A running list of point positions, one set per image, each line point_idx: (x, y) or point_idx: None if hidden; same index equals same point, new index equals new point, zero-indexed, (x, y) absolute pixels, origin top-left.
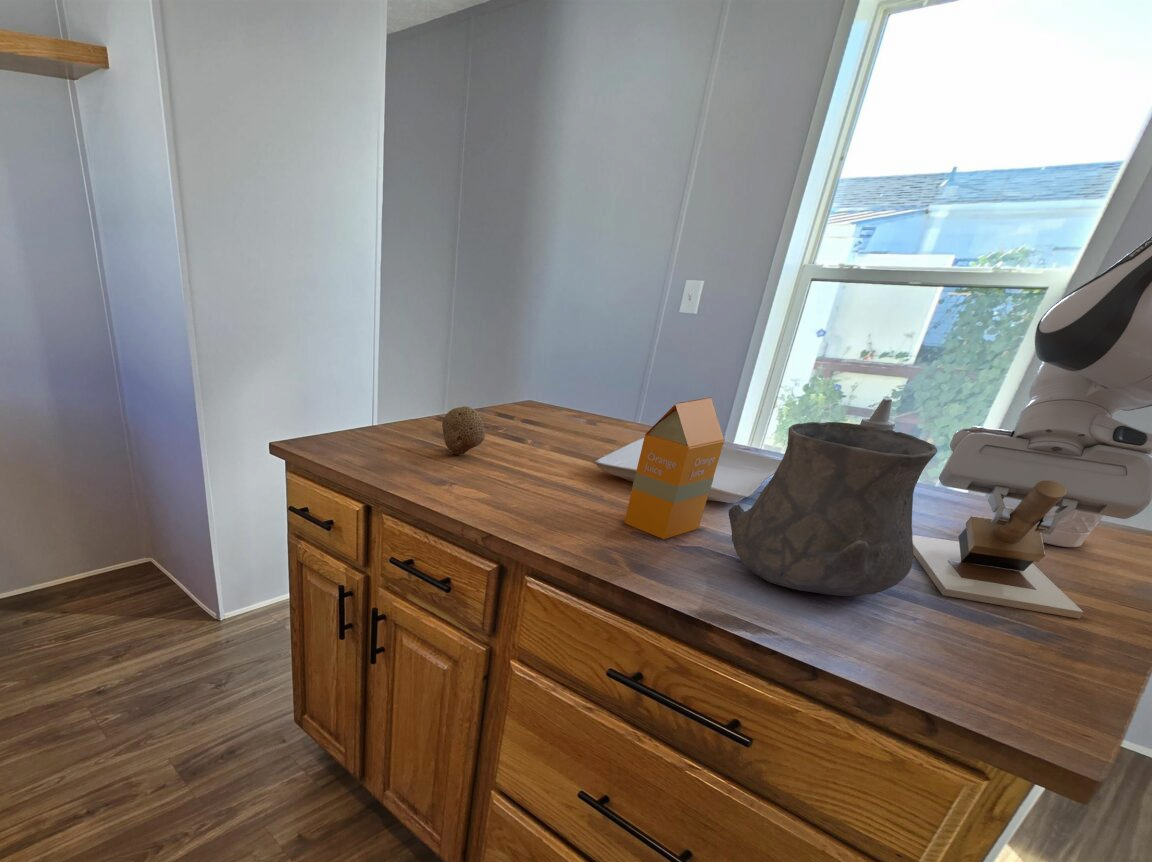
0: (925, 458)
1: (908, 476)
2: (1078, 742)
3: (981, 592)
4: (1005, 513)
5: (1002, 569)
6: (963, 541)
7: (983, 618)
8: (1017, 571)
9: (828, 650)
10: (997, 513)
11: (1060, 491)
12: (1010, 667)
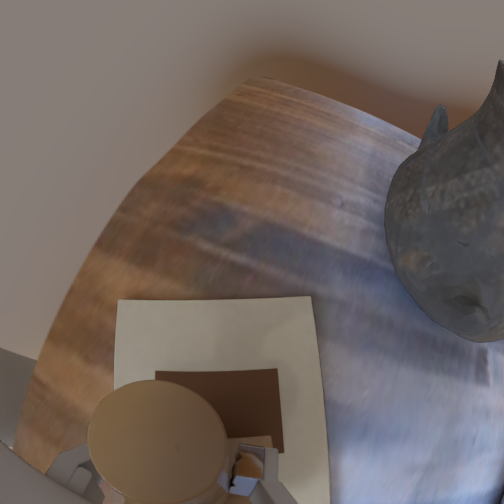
0: (500, 66)
1: (491, 89)
2: (246, 90)
3: (257, 309)
4: (253, 461)
5: None
6: None
7: (263, 242)
8: None
9: (386, 136)
10: (275, 457)
11: (114, 421)
12: (263, 145)
